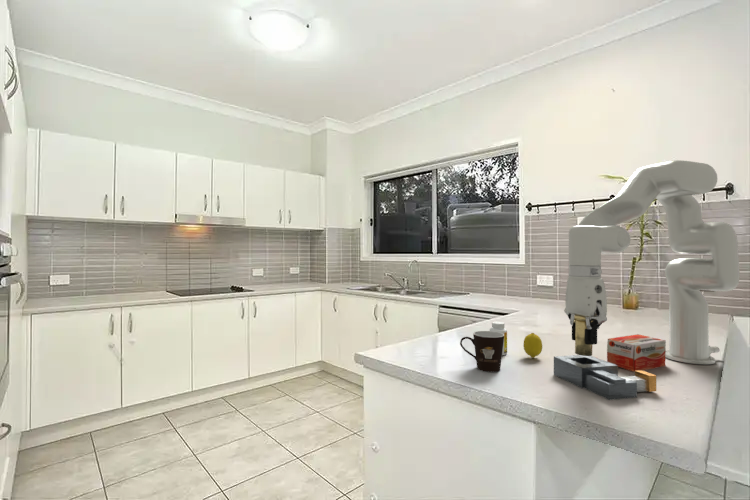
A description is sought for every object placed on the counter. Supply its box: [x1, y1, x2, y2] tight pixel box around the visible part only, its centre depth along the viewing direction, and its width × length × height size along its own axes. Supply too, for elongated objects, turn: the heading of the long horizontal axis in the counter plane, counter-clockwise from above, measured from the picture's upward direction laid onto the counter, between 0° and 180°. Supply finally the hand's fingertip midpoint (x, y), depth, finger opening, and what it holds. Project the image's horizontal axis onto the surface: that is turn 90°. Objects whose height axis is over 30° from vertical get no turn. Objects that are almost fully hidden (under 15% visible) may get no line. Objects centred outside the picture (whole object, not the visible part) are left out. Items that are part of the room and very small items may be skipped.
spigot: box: [574, 315, 593, 356], centre depth 100 cm, size 5×5×10 cm
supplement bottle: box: [489, 321, 508, 356], centre depth 126 cm, size 6×6×10 cm
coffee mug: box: [459, 330, 504, 373], centre depth 111 cm, size 12×9×10 cm
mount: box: [553, 354, 638, 401], centre depth 97 cm, size 10×18×5 cm, turn 12°
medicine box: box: [606, 333, 667, 373], centre depth 113 cm, size 15×8×8 cm, turn 114°
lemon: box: [523, 332, 543, 359], centre depth 121 cm, size 6×6×8 cm
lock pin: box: [620, 370, 657, 393], centre depth 92 cm, size 8×4×4 cm, turn 102°
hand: (584, 341), depth 100 cm, fingers closed on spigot, 4 cm apart
